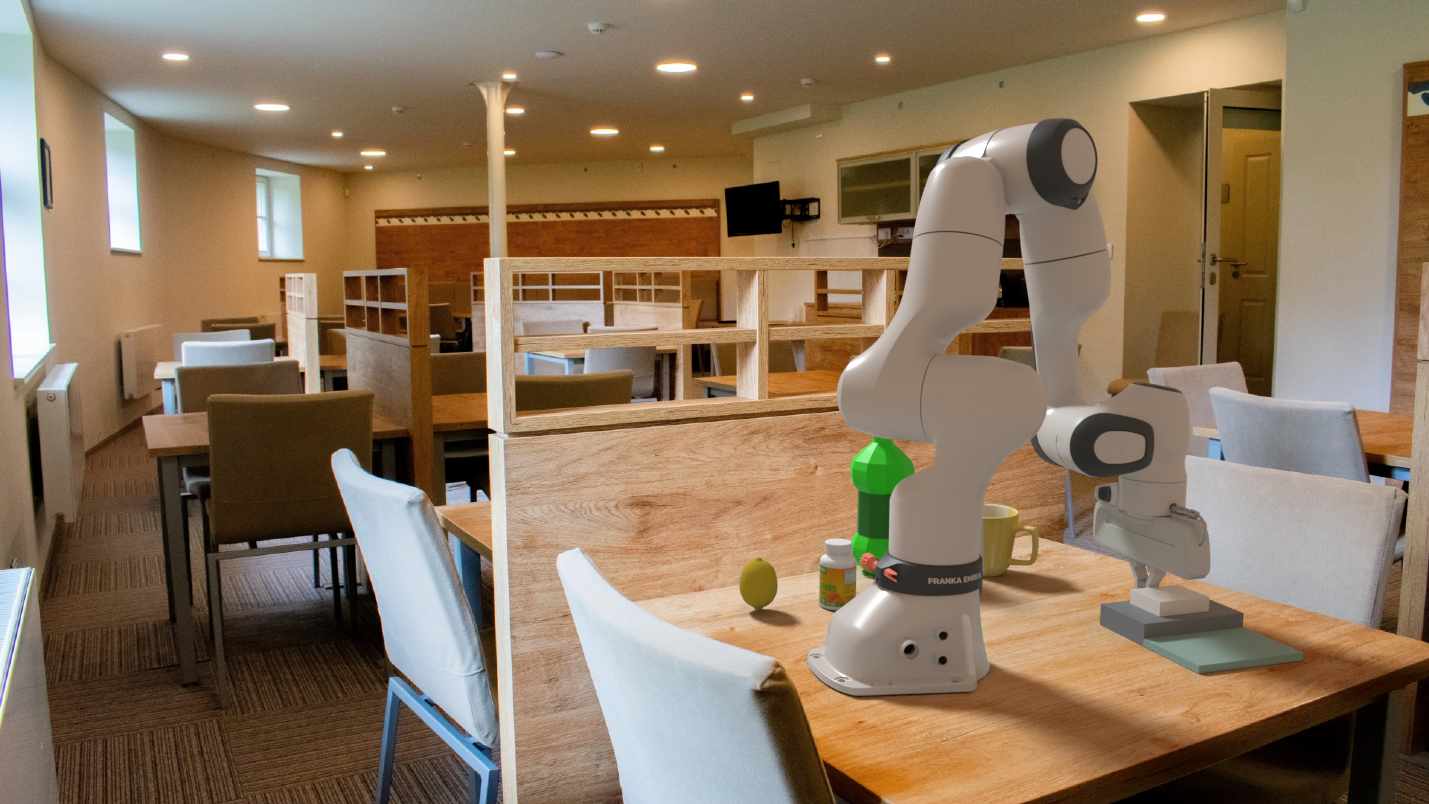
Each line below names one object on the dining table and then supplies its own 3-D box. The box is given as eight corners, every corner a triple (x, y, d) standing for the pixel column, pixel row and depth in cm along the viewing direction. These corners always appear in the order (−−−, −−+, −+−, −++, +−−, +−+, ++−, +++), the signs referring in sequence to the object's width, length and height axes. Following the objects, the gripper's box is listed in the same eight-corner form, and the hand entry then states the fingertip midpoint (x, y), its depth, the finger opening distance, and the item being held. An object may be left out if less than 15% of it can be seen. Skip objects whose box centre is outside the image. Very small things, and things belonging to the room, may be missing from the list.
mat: (1198, 673, 127) (1198, 665, 127) (1143, 646, 137) (1143, 638, 137) (1302, 660, 132) (1303, 652, 132) (1242, 634, 141) (1242, 627, 141)
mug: (940, 570, 172) (941, 508, 170) (977, 560, 178) (979, 500, 177) (1011, 590, 161) (1013, 524, 160) (1048, 578, 168) (1050, 514, 167)
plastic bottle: (905, 562, 177) (909, 417, 174) (915, 580, 166) (919, 426, 163) (846, 561, 177) (849, 416, 174) (852, 579, 167) (855, 425, 164)
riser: (1143, 646, 137) (1144, 624, 136) (1099, 624, 145) (1100, 603, 145) (1242, 634, 141) (1243, 613, 141) (1194, 614, 150) (1195, 593, 149)
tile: (1159, 616, 139) (1160, 602, 139) (1129, 603, 145) (1130, 589, 145) (1208, 611, 142) (1209, 597, 141) (1177, 598, 147) (1178, 584, 147)
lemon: (755, 619, 147) (755, 564, 146) (731, 609, 152) (731, 556, 151) (785, 612, 150) (785, 558, 150) (761, 602, 155) (761, 550, 154)
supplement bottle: (811, 605, 154) (812, 541, 153) (835, 597, 157) (836, 535, 156) (838, 614, 150) (839, 548, 149) (863, 606, 153) (864, 542, 152)
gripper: (1225, 511, 137) (1219, 613, 139) (1122, 482, 156) (1118, 572, 158) (1186, 515, 135) (1180, 617, 137) (1087, 485, 155) (1083, 575, 156)
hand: (1146, 593), depth 147 cm, fingers closed
